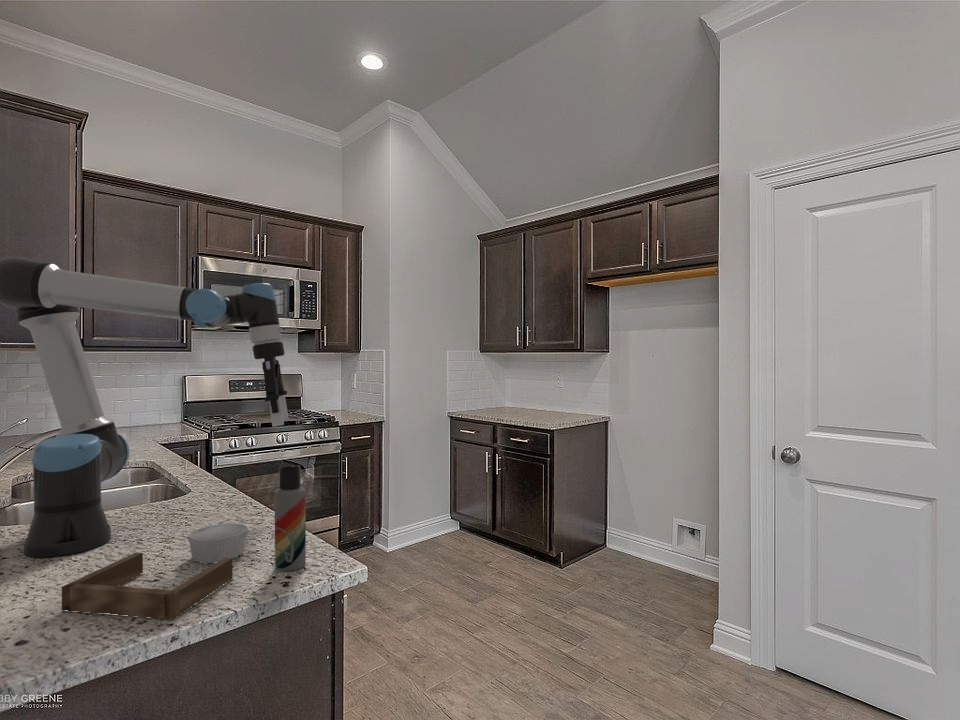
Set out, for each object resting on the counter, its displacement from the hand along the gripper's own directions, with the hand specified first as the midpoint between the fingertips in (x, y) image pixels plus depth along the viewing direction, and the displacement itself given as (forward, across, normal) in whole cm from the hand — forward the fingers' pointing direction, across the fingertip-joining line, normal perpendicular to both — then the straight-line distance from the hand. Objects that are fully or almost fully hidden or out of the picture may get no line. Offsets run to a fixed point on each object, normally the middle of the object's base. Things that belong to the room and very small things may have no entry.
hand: (281, 422), depth 141 cm
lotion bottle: (+24, -39, -2) cm, 46 cm away
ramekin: (+22, -30, +13) cm, 39 cm away
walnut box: (+21, -46, +20) cm, 54 cm away
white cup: (+13, +95, +75) cm, 122 cm away
